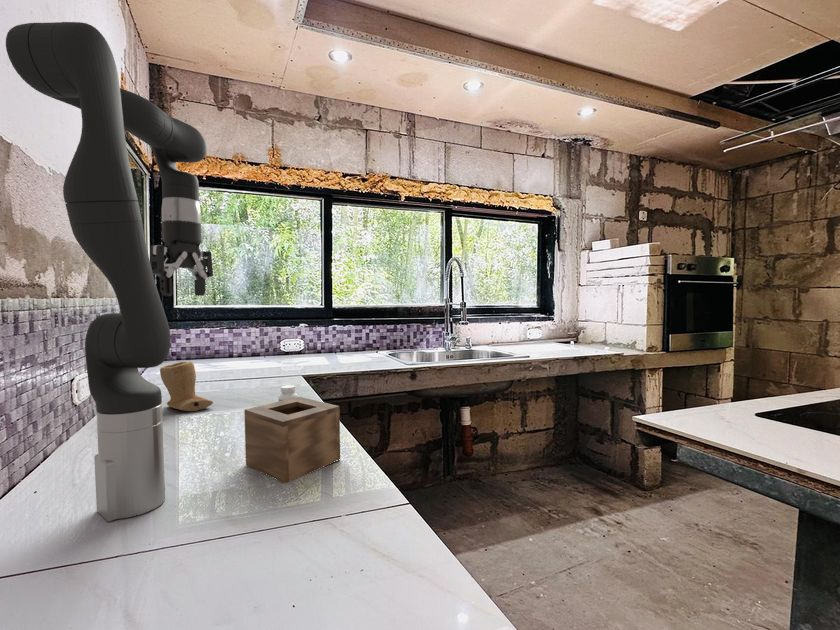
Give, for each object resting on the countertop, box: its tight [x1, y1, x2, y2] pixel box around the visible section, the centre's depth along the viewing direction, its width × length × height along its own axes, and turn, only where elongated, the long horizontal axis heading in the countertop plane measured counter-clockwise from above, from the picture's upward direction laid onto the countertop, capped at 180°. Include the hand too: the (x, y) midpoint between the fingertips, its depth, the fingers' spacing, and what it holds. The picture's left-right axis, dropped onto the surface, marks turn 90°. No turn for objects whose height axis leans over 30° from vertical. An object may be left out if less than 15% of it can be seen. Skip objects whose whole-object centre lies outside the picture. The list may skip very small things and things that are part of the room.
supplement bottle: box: [278, 384, 299, 402], centre depth 123 cm, size 5×5×10 cm
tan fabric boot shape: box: [159, 360, 214, 412], centre depth 135 cm, size 15×12×15 cm
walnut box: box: [243, 396, 341, 484], centre depth 91 cm, size 14×14×12 cm
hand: (184, 295), depth 94 cm, fingers open, 8 cm apart
